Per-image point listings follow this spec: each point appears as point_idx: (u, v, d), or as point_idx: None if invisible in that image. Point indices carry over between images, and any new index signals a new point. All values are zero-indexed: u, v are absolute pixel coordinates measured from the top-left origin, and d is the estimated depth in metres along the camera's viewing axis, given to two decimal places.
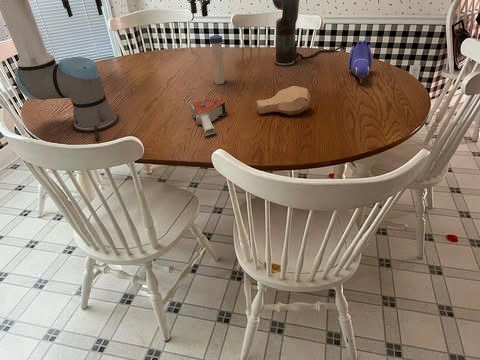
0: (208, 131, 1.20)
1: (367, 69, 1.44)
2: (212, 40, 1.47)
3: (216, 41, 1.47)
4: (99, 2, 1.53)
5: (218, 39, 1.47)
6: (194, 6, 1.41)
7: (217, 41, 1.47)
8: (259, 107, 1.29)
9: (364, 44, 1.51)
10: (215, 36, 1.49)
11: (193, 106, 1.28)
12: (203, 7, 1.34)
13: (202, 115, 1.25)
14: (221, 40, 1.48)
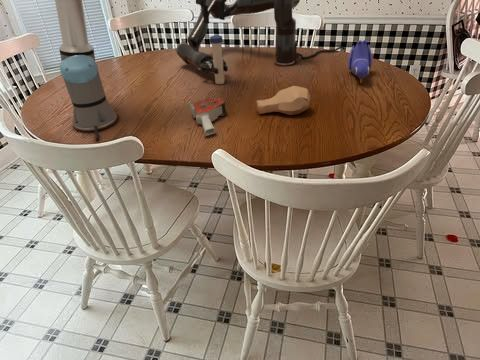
0: (208, 131, 1.20)
1: (367, 69, 1.44)
2: (212, 40, 1.47)
3: (216, 41, 1.47)
4: None
5: (218, 39, 1.47)
6: None
7: (217, 41, 1.47)
8: (259, 107, 1.29)
9: (364, 44, 1.51)
10: (215, 36, 1.49)
11: (193, 106, 1.28)
12: (223, 65, 1.58)
13: (202, 115, 1.25)
14: (221, 40, 1.48)
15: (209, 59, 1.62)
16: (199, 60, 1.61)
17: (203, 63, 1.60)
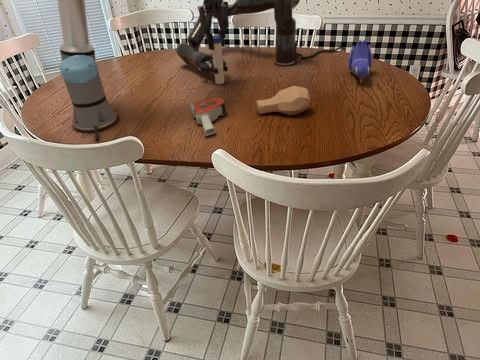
0: (208, 131, 1.20)
1: (367, 69, 1.44)
2: None
3: (216, 41, 1.47)
4: None
5: (218, 39, 1.47)
6: None
7: (217, 41, 1.47)
8: (259, 107, 1.29)
9: (364, 44, 1.51)
10: (215, 36, 1.49)
11: (193, 106, 1.28)
12: (223, 65, 1.58)
13: (202, 115, 1.25)
14: (221, 40, 1.48)
15: (209, 59, 1.62)
16: (199, 60, 1.61)
17: (203, 63, 1.60)
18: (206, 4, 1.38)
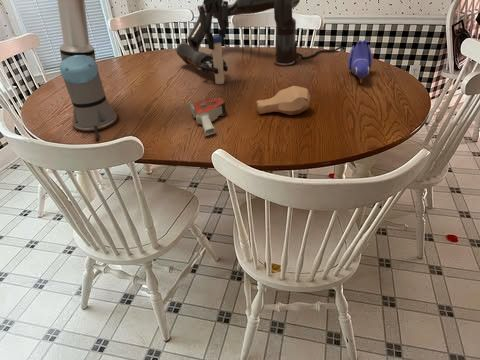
0: (208, 131, 1.20)
1: (367, 69, 1.44)
2: (221, 38, 1.48)
3: None
4: None
5: None
6: None
7: None
8: (259, 107, 1.29)
9: (364, 44, 1.51)
10: (214, 36, 1.48)
11: (193, 106, 1.28)
12: (223, 65, 1.58)
13: (202, 115, 1.25)
14: None
15: (209, 59, 1.62)
16: (199, 60, 1.61)
17: (203, 63, 1.60)
18: (206, 4, 1.38)
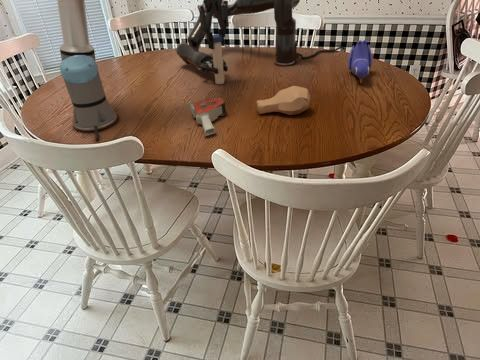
0: (208, 131, 1.20)
1: (367, 69, 1.44)
2: None
3: None
4: None
5: None
6: None
7: None
8: (259, 107, 1.29)
9: (364, 44, 1.51)
10: (217, 36, 1.48)
11: (193, 106, 1.28)
12: (223, 65, 1.58)
13: (202, 115, 1.25)
14: None
15: (209, 59, 1.62)
16: (199, 60, 1.61)
17: (203, 63, 1.60)
18: (206, 3, 1.38)
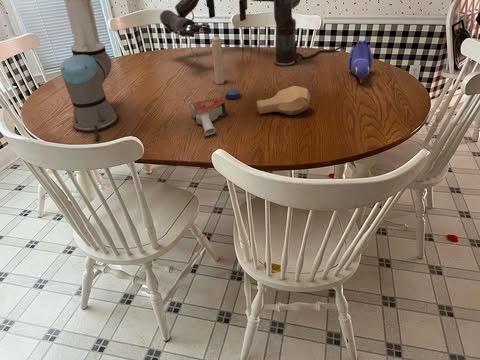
0: (208, 131, 1.20)
1: (367, 69, 1.44)
2: (236, 96, 1.44)
3: (238, 95, 1.45)
4: (243, 5, 1.21)
5: None
6: None
7: (238, 95, 1.45)
8: (259, 107, 1.29)
9: (364, 44, 1.51)
10: (230, 92, 1.45)
11: (193, 106, 1.28)
12: (207, 27, 1.61)
13: (202, 115, 1.25)
14: None
15: (191, 24, 1.64)
16: (181, 24, 1.63)
17: (185, 27, 1.62)
18: None
